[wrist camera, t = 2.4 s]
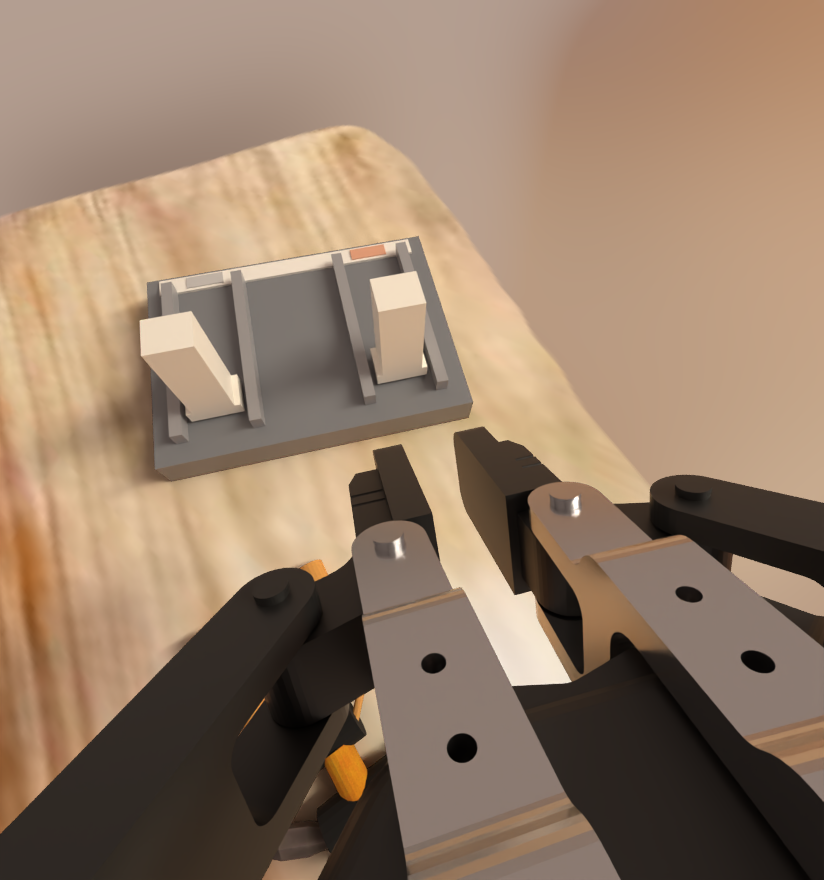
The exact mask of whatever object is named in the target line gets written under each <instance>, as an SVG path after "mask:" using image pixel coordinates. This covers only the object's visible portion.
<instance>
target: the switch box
mask: <svg viewBox="0 0 824 880" xmlns="http://www.w3.org/2000/svg"><path fill="white" fill-rule="evenodd" d="M413 271H416V272H417V275H418V278H419V281H420V284H421V288H422V291H423V294H424V297H425V300H426V315H425V330H424V344H423V354H424V357H425V360H426V364H427V374H425V375H420V376H415V377H410V378H405V379H400V380H395V381H391V382H386V383H381V384H378V383H377V379H376V374H375V370H374V366H373V362H372V358H371V352H370V348H375V347H376V346H375V334H374V323H373V311H372V300H371V289H370V279H374V278H379V277H385V276H390V275H396V274H402V273H407V272H413ZM147 296H148V319H150V318H155V317H161V316H166V315H172V314H178V313H183V312H189V311H192V313H193V315H194V316H195V318H196V320H197V321H198V323H199V324H200V326H201V328H202V329H203V331H204V332H205V334H206V336H207V337H208V339H209V341H210V342H211V344H212V345H213V347H214V349H215V350H216V352H217V353H218V355H219V357H220V358H221V360H222V362H223V363H224V365H225V366H226V368H227V370H228V371H229V373H230V374H231V375H236V374H237V375H238V377H239V379H240V380H241V383H242V391H243V400H244V408H245V411H243V412H238V413H233V414H228V415H223V416H218V417H213V418H208V419H203V420H198V421H193V422H192V421H191V420H190V419H189V418H188V417H187V416H186V409H185V406H184V404H183V403H182V402H181V401H180V400H179V399H178V398H177V396H176V395H175V394H174V393H173V392H172V391H171V390H170V389H169V387H168V386H167V385H166V384H165V383H164V382H163V381H162V379H161V378H160V377H159V376H158V375H157V374H156V373H155V372H154V370H153V369H152V368H151V390H152V414H153V437H154V461H155V470H156V471H158V472H159V473H160V474H162V475H163V476H164V477H166V478H167V479H169V480H170V481H175V480H180V479H185V478H189V477H194V476H199V475H203V474H208V473H213V472H217V471H222V470H227V469H231V468H236V467H241V466H245V465H250V464H254V463H259V462H264V461H268V460H273V459H278V458H282V457H287V456H292V455H296V454H301V453H306V452H310V451H315V450H320V449H324V448H329V447H334V446H338V445H343V444H348V443H352V442H357V441H362V440H366V439H371V438H376V437H380V436H385V435H389V434H394V433H399V432H403V431H408V430H413V429H417V428H422V427H427V426H431V425H436V424H441V423H445V422H450V421H455V420H459V419H464V418H469V415H470V411H471V408H472V404H473V400H472V397H471V394H470V391H469V388H468V385H467V382H466V379H465V376H464V373H463V370H462V367H461V364H460V361H459V358H458V355H457V352H456V349H455V346H454V342H453V339H452V336H451V333H450V330H449V327H448V324H447V321H446V318H445V315H444V312H443V309H442V306H441V303H440V300H439V297H438V294H437V291H436V288H435V285H434V282H433V279H432V276H431V273H430V269H429V266H428V263H427V260H426V257H425V254H424V251H423V248H422V245H421V242H420V239H419V236H417V237H412V238H406V239H400V240H394V241H388V242H382V243H376V244H371V245H365V246H359V247H353V248H347V249H341V250H335V251H330V252H324V253H318V254H312V255H306V256H300V257H294V258H289V259H283V260H277V261H271V262H265V263H259V264H253V265H248V266H242V267H236V268H230V269H224V270H218V271H212V272H207V273H201V274H195V275H189V276H183V277H177V278H171V279H166V280H160V281H154V282H148V283H147Z"/></svg>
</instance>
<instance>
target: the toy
mask: <svg viewBox="0 0 824 880" xmlns="http://www.w3.org/2000/svg"><path fill="white" fill-rule="evenodd" d="M300 569H302V570H305V571H307V572H308V573H310V574H311V575H312V576H313V578H314V581H317V580H319V579H321V578H323V577H325V576H327V575H328V574H327V572H326V570H325V567H324V565H323V563H322V561H321V560H315V561H312V562H310V563H307V564H306V565H304V566H302V567H301V568H300ZM363 697H364V695H362V696H360V697H359V698H357V699H355V703H354V707H353V705H352V704H351V702H350V703H349V712H348V716H347V719H346V721H345V723H344V725H343V727H342V729H341V731H340V733H339V734H338V736H337V738H336V740H335V742H334V744H333V746H332V748H331V750H330V751H329V753H328V755H327V757H326V759H325V761H324V763H323V765H322V767H321V768H320V770H321V769H322V768H324V767H326V769H327V771H328V773H329V775H330V777H331V779H332V781H333V783H334V785H335V787H336V789H337V791H338V793H337V794H335V795H334V796H333V797H332V798H330V799H329V800H328V801H327V802H325V803H324V804H323V805H321V806H320V807H319V808H318V809H317V820H318V822H314V821H304V822H297V823H291V825H290V827H289V829H288V831H287V833H286V835H285V837H284V838H283V840H282V842H281V844H280V846H279V848H278V850H277V852H276V854H275V855H274V857H273V859H274V860H278V861H286V860H293V859H300V858H307V857H310V856H312V855H314V854H317V853H319V852H321V851H323V850H325V849H327V848H328V850H329V852H330V853H331V852H332V851H333V849H334V847H335V845H336V843H337V841H338V839H339V837H340V835H341V833H342V831H343V829H344V827H345V825H346V823H347V821H348V819H349V817H350V815H351V813H352V811H353V809H354V808H355V806H356V804H357V802H358V800H359V799H360V797H361V796H362V794H363V793H364V791H365V790H366V788H367V787H368V785H369V784H370V782H371V781H372V779H373V778H374V777H375V776H376V774H377V773H378V772H379V771H380V770H381V768H382V767H383V766H384V765H385V764H386V763H387V761H388V758H387V755H385V756H384V757H383V758H382V759H380V760H379V761H378V762H376V763H375V764H374V765H373V766H371V767H370V768H369V769H366V767H365V765H364V763H363V761H362V759H361V757H360V755H359V754H358V752H357V750H356V748H355V746H354V744H355V743H357V742H358V741H359V740H361V739H362V738H363V737H364V736H366V730H365V728H364V725H363V723H362V721H361V719H360V712H361V707H362V702H363ZM264 700H265V699H263V701H264ZM263 701H262V702H261V703H260V705H261V704H262V703H263ZM260 705H259V706H258V708H259V707H260ZM258 708H257V709H256V710H255V712H254V713H253V715H254V714H255V713H256V711H257V710H258ZM253 715H252V716H251V717H250V719H249V720H248V722H249V721H250V720H251V718H252V717H253ZM248 722H247V723H246V724H245V726H244V728H245V727H246V725H247V724H248ZM320 770H319V771H320Z"/></svg>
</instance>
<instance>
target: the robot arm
mask: <svg viewBox="0 0 824 880" xmlns="http://www.w3.org/2000/svg"><path fill="white" fill-rule="evenodd" d="M454 448H455V455H456V463H457V470H458V478H459V485H460V492H461V496H462V500H463V504H464V507H465V509H466V512H467V514H468V515H469V517H470V519H471V521H472V522H473V524H474V526H475V527H476V529H477V531H478V533H479V534H480V536H481V538H482V540H483V541H484V543H485V545H486V546H487V548H488V550H489V552H490V553H491V555H492V557H493V559H494V560H495V562H496V564H497V565H498V567H499V569H500V571H501V572H502V574H503V576H504V577H505V579H506V581H507V583H508V584H509V586H510V588H511V590H512V591H513V593H514V595H517V594H521V593H525V592H529V591H532V592H533V594H534V596H535V604H536V615H537V619H538V621H539V623H540V625H541V627H542V628H543V630H544V632H545V634H546V636H547V637H548V639H549V641H550V643H551V645H552V647H553V648H554V650H555V652H556V654H557V656H558V658H559V659H560V661H561V663H562V665H563V667H564V669H565V670H566V672H567V674H568V676H569V678H570V679H571V681H572V682H570V683H565V684H547V685H526V686H511V684H510V682H509V680H508V678H507V676H506V674H505V672H504V670H503V668H502V666H501V664H500V662H499V660H498V658H497V656H496V654H495V652H494V650H493V648H492V646H491V643H490V641H489V639H488V637H487V635H486V633H485V631H484V629H483V627H482V625H481V623H480V621H479V619H478V617H477V615H476V613H475V611H474V609H473V607H472V605H471V603H470V601H469V599H468V597H467V596H466V594H465V592H464V590H463V589H462V588H460V587H459V588H456V589H452V587H451V585H450V582H449V580H448V578H447V576H446V574H445V572H444V570H443V567H442V565H441V563H440V558H439V552H438V546H437V540H436V534H435V527H434V521H433V515H432V512H431V509H430V507H429V505H428V503H427V500H426V498H425V496H424V494H423V491H422V489H421V487H420V485H419V482H418V480H417V478H416V476H415V473H414V471H413V469H412V467H411V465H410V462H409V460H408V458H407V456H406V453H405V451H404V449H403V447H402V445H401V444H400V445H395V446H391V447H386V448H382V449H377V450H373V455H374V460H375V465H376V470H371V471H367V472H362V473H358V474H355V476H354V478H353V479H352V481H351V482H350V484H349V491H350V497H351V505H352V512H353V519H354V526H355V533H356V539H355V540H354V542H353V544H352V558H351V559H350V560H349V561H348V562H347V563H346V564H345V565H344V566H342V567H341V568H340V569H338V570H337V571H335V572H333V573H331V574H329V575H327V576H325V577H323V578H321V579H319V580H317V581H314V578H313V576H312V575H311V574H310V573H308V572H307V571H305V570H302V569H298V568H282V569H277V570H273V571H270V572H267V573H264V574H262V575H260V576H258V577H256V578H254V579H252V580H251V581H249V582H248V583H247V584H245V585H244V586H243V587H242V588H241V589H240V590H239V591H238V592H237V593H236V594H235V595H234V596H233V597H232V598H231V599H230V600H229V601H228V602H227V603H226V604H225V605H224V606H223V607H222V608H221V609H220V610H219V611H218V612H217V613H216V614H215V615H214V616H213V617H212V618H211V619H210V620H209V621H208V622H207V623H206V624H205V625H204V626H203V627H202V628H201V630H200V631H199V632H198V633H197V634H196V635H195V636H194V637H193V638H192V639H191V640H190V641H189V642H188V643H187V644H186V645H185V646H184V647H183V648H182V649H181V650H180V651H179V652H178V653H177V654H176V655H175V656H174V657H173V658H172V659H171V660H170V661H169V662H168V663H167V664H166V665H165V666H164V667H163V668H162V669H161V670H160V671H159V672H158V673H157V675H156V676H155V677H154V678H153V679H152V680H151V681H150V682H149V683H148V684H147V685H146V686H145V687H144V688H143V689H142V690H141V691H140V692H139V693H138V694H137V695H136V696H135V697H134V698H133V699H132V700H131V701H130V702H129V703H128V704H127V705H126V706H125V707H124V708H123V709H122V710H121V711H120V712H119V713H118V714H117V715H116V716H115V717H114V718H113V720H112V721H111V722H110V723H109V724H108V725H107V726H106V727H105V728H104V729H103V730H102V731H101V732H100V733H99V734H98V735H97V736H96V737H95V738H94V739H93V740H92V741H91V742H90V743H89V744H88V745H87V746H86V747H85V748H84V749H83V750H82V751H81V752H80V753H79V754H78V755H77V756H76V757H75V758H74V759H73V760H72V761H71V762H70V764H69V765H68V766H67V767H66V768H65V769H64V770H63V771H62V772H61V773H60V774H59V775H58V776H57V777H56V778H55V779H54V780H53V781H52V782H51V783H50V784H49V785H48V786H47V787H46V788H45V789H44V790H43V791H42V792H41V793H40V794H39V795H38V796H37V797H36V798H35V799H34V800H33V801H32V802H31V803H30V804H29V805H28V806H27V807H26V809H25V810H24V811H23V812H22V813H21V814H20V815H19V816H18V817H17V818H16V819H15V820H14V821H13V822H12V823H11V824H10V825H9V826H8V827H7V828H6V829H5V830H4V831H3V832H2V833H1V834H0V880H262V878H263V876H264V874H265V873H266V871H267V869H268V867H269V865H270V863H271V861H272V859H273V857H274V855H275V854H276V852H277V850H278V848H279V846H280V844H281V842H282V840H283V838H284V837H285V835H286V833H287V831H288V829H289V827H290V825H291V823H292V821H293V820H294V818H295V816H296V814H297V812H298V810H299V808H300V806H301V804H302V803H303V801H304V799H305V797H306V795H307V793H308V791H309V789H310V787H311V785H312V784H313V782H314V780H315V778H316V776H317V774H318V772H319V770H320V768H321V767H322V765H323V763H324V761H325V759H326V757H327V755H328V753H329V751H330V750H331V748H332V746H333V744H334V742H335V740H336V738H337V736H338V734H339V733H340V731H341V729H342V727H343V725H344V723H345V721H346V719H347V716H348V712H349V703H350V702H352V701H354V700H355V699H357V698H359V697H360V696H362V695H364V694H365V693H367V692H369V691H370V690H372V689H374V688H375V692H376V698H377V703H378V709H379V714H380V720H381V725H382V731H383V736H384V742H385V747H386V753H387V758H388V761H387V763H386V764H385V765H384V766H383V767H382V768H381V770H380V771H379V772H378V773H377V774H376V776H375V777H374V778H373V779H372V781H371V782H370V784H369V785H368V787H367V788H366V790H365V791H364V793H363V794H362V796H361V797H360V799H359V800H358V802H357V804H356V806H355V808H354V809H353V811H352V813H351V815H350V817H349V819H348V821H347V823H346V825H345V827H344V829H343V831H342V833H341V835H340V837H339V839H338V841H337V843H336V845H335V847H334V849H333V851H332V852H331V854H330V856H329V858H328V860H327V862H326V864H325V866H324V868H323V870H322V872H321V874H320V876H319V878H318V880H824V617H823V616H816V615H813V614H810V613H807V612H804V611H801V610H798V609H796V608H792V607H790V606H787V605H784V604H782V603H779V602H776V601H773V600H770V599H768V598H765V597H762V596H760V595H758V594H757V593H756V592H755V591H754V590H752V589H751V588H750V587H749V586H747V585H746V584H745V583H744V582H743V581H741V580H740V579H739V578H738V577H736V576H735V575H734V574H733V573H732V572H731V565H732V556H733V554H735V555H738V556H741V557H744V558H747V559H751V560H754V561H757V562H760V563H763V564H767V565H770V566H773V567H776V568H780V569H783V570H786V571H789V572H792V573H795V574H799V575H802V576H805V577H808V578H810V579H812V580H814V581H816V582H817V583H819V584H820V585H821V586H823V587H824V503H821V502H817V501H812V500H808V499H803V498H799V497H794V496H789V495H785V494H780V493H776V492H772V491H767V490H763V489H758V488H753V487H749V486H745V485H740V484H735V483H731V482H727V481H722V480H717V479H713V478H709V477H703V476H696V475H676V476H669V477H665V478H662V479H660V480H658V481H656V482H655V483H653V485H652V486H651V488H650V502H648V503H627V504H613V503H612V502H611V501H609V500H608V499H607V498H606V497H605V496H604V495H603V494H602V493H601V492H600V491H598V490H597V489H595V488H593V487H591V486H589V485H586V484H582V483H576V482H562V481H561V480H559V479H558V478H557V477H556V476H555V475H554V474H553V473H552V472H551V471H550V470H549V469H548V468H547V467H546V466H545V465H543V464H541V462H540V461H539V460H538V459H537V458H536V457H533V454H532V453H531V452H530V451H528V450H527V449H526V448H525V447H524V446H522V445H520V444H517V443H514V442H511V441H509V440H506V441H502V442H498V441H497V440H496V439H495V438H494V437H493V436H492V435H491V434H490V433H489V432H488V431H487V430H486V429H485V428H484V427H478V428H474V429H469V430H464V431H460V432H455V433H454ZM263 699H265V700H264V701H263ZM262 701H263V703H262V704H261V705H260V703H261V702H262ZM259 705H260V707H259V708H258V706H259ZM257 708H258V710H257V711H256V713H255V714H254V715H253V713H254V712H255V710H256V709H257ZM252 715H253V717H252V718H251V720H250V721H249V722H248V720H249V719H250V717H251V716H252ZM247 722H248V724H247V725H246V727H245V728H244V729H243V727H244V726H245V724H246V723H247ZM242 729H243V731H242V732H241V730H242ZM240 732H241V734H240ZM239 734H240V735H239ZM237 737H238V738H237Z"/></svg>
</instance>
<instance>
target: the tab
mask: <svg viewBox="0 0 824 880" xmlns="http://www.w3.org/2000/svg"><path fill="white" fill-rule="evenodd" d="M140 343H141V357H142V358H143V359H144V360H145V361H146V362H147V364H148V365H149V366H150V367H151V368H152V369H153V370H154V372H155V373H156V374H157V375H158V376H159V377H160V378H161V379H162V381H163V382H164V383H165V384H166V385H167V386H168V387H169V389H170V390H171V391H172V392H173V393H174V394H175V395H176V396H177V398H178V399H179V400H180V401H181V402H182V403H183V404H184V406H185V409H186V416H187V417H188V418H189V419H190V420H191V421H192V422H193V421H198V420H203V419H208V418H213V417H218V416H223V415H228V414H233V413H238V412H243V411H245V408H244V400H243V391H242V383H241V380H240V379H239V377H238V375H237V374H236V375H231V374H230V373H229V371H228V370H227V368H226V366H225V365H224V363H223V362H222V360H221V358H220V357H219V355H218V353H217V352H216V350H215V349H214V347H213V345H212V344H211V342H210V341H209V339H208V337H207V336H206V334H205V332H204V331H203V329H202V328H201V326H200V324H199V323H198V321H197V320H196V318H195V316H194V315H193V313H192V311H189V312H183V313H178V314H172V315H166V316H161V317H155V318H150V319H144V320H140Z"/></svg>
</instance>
